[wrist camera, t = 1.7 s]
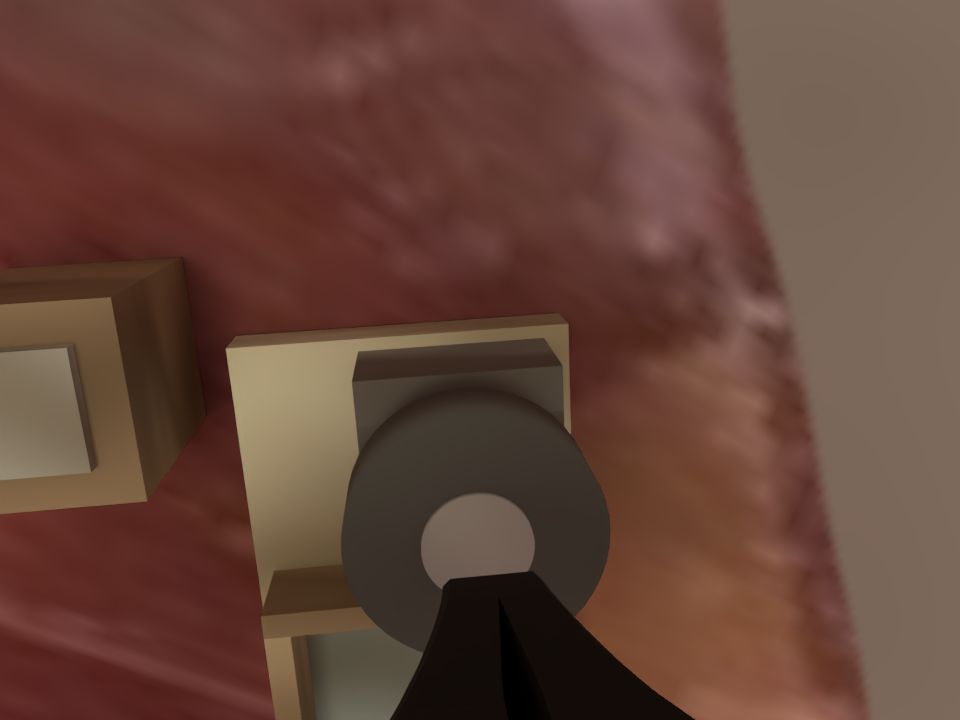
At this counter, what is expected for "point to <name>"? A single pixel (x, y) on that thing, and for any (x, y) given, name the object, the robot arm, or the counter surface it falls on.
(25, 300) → the wooden block
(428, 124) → the counter surface
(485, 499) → the wheel
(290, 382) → the chassis board
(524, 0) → the counter surface
